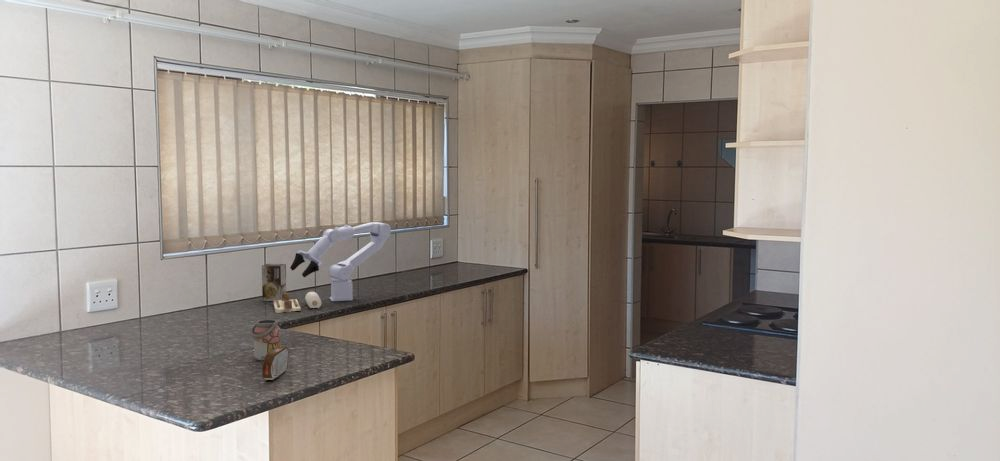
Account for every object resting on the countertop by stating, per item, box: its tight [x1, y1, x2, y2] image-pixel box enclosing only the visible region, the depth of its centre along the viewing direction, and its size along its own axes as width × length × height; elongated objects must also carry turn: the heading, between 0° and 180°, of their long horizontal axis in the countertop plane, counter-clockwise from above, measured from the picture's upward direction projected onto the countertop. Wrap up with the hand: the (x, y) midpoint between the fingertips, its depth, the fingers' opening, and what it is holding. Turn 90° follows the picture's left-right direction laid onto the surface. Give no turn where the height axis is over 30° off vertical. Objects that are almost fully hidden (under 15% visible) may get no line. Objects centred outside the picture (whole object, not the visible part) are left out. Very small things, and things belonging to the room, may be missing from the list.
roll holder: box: [272, 292, 302, 314], centre depth 314 cm, size 10×20×4 cm, turn 20°
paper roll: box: [304, 291, 322, 309], centre depth 318 cm, size 6×13×6 cm, turn 20°
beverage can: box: [249, 319, 281, 359], centre depth 235 cm, size 9×8×12 cm
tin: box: [261, 345, 290, 379], centre depth 216 cm, size 15×3×8 cm, turn 176°
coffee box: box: [261, 263, 287, 302], centre depth 330 cm, size 9×6×16 cm
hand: (297, 272), depth 319 cm, fingers open, 7 cm apart
